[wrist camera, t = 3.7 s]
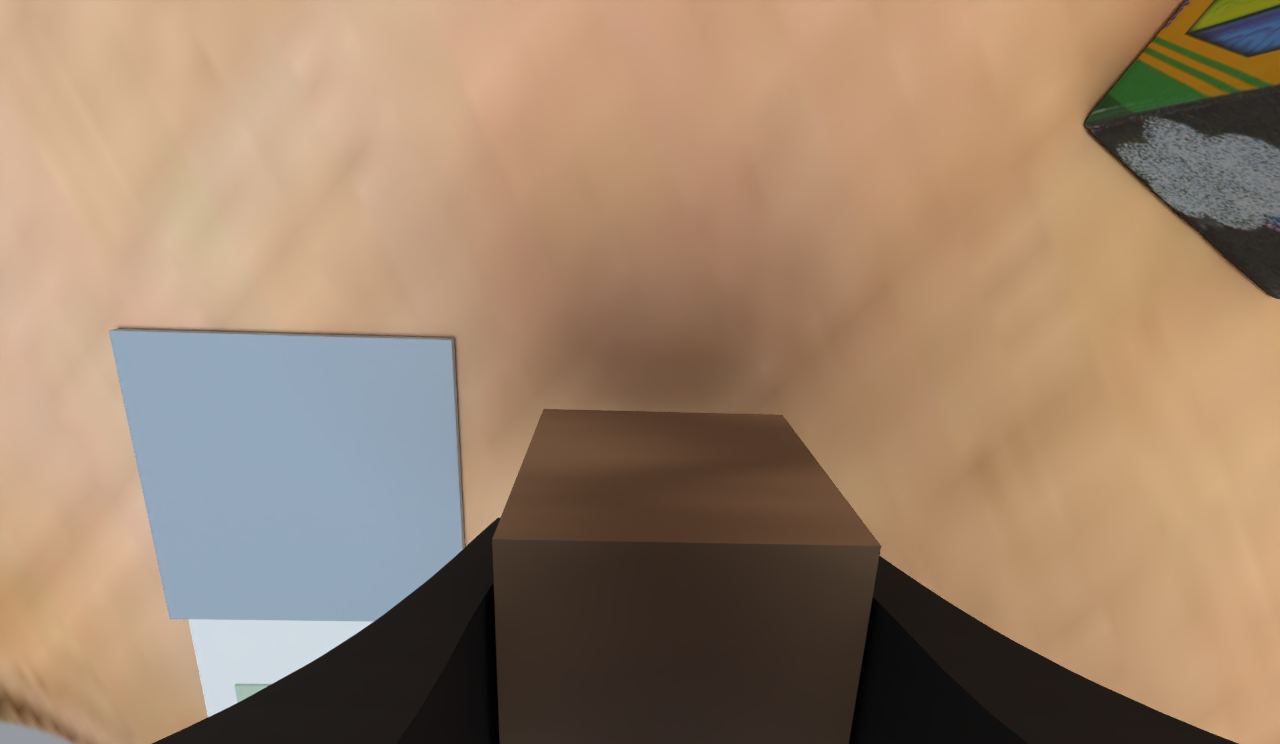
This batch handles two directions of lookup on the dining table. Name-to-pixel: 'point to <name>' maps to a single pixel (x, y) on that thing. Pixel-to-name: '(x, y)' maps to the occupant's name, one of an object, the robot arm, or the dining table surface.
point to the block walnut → (678, 585)
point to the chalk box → (1208, 126)
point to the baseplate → (294, 468)
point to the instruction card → (258, 653)
